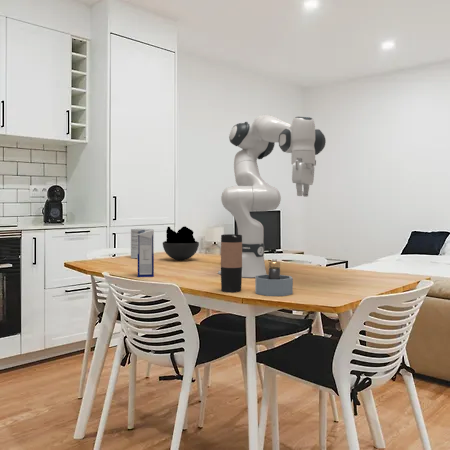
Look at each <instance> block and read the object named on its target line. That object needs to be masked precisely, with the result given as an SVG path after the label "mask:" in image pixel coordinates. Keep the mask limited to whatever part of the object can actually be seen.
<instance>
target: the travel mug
mask: <svg viewBox="0 0 450 450" xmlns="http://www.w3.org/2000/svg"><path fill="white" fill-rule="evenodd" d="M220 271H221V274H220V285H221V287H220V288H221V290H220V291H221V292H224V293H239V292H241V291H242V284H243V283H242V280H243V279H242V278H243V277H242V235H238V233H237V234H236V233H235V234H233V233H232V234H221V237H220Z"/></svg>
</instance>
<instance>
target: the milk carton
mask: <svg viewBox="0 0 450 450" xmlns="http://www.w3.org/2000/svg"><path fill="white" fill-rule="evenodd" d="M154 231H155V230H154V229H153V230H149V231H145V230H141V231H138V233H139V234H138V259H137V278H153V277H155V272H154V271H155V270H154V269H155V268H154V267H155V266H154V263H155V262H154V261H155V257H154V255H155V254H154V251H155V250H154V248H155V247H154V246H155V243H154V242H155V241H154V240H155V235H154V234H155V233H154Z"/></svg>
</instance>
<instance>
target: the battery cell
mask: <svg viewBox="0 0 450 450" xmlns="http://www.w3.org/2000/svg"><path fill="white" fill-rule="evenodd" d="M268 275H269V279H280V275H281V261H278V259H273V258H272V260H270V261H268Z"/></svg>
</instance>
